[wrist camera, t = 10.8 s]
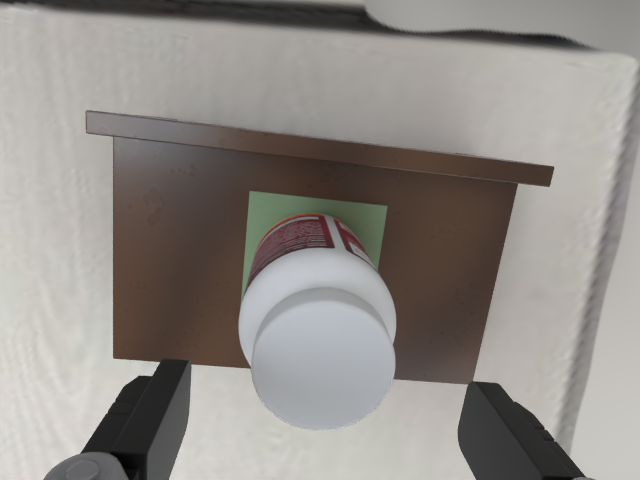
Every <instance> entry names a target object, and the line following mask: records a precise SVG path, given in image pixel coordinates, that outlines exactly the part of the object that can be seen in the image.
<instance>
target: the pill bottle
mask: <svg viewBox="0 0 640 480" xmlns="http://www.w3.org/2000/svg"><path fill="white" fill-rule="evenodd" d="M395 333H396V312H395V307H394V303H393V300H392V297H391V294H390V292H389V290H388V288H387V286H386V284H385V282H384V281H383V279H382V277H381V276H380V274H379V273H378V271H377V269H376V268H375V266H374V264H373V263H372V261H371V259H370V258H369V256H368V254H367V253H366V251H365V249H364V248H363V246H362V244H361V243H360V241H359V239H358V238H357V236H356V235H355V234H354V233H353V231H352V230H351V229H350V228H349V227H348V226H347V225H345V224H344V223H343V222H341V221H339V220H338V219H336V218H334V217H332V216H329V215H326V214H322V213H315V212H307V213H299V214H294V215H291V216H288V217H286V218H284V219H282V220H280V221H279V222H277V223H276V224H274V225H273V226H272V227H271V228H270V229H269V230H268V231H267V232H266V233H265V235H264V236H263V237H262V239H261V241H260V243H259V245H258V247H257V249H256V252H255V255H254V259H253V263H252V266H251V270H250V274H249V278H248V281H247V284H246V289H245V293H244V296H243V300H242V304H241V309H240V315H239V339H240V343H241V347H242V350H243V353H244V355H245V357H246V359H247V361H248V363H249V365H250V366H251V373H252V380H253V384H254V387H255V390H256V392H257V394H258V396H259V398H260V399H261V401H262V403H263V404H264V405H265V406H266V407H267V408H268V410H269V411H271V412H272V413H273V414H274V415H275V416H276V417H278V418H279V419H281V420H283V421H284V422H286V423H288V424H291V425H293V426H296V427H299V428H303V429H308V430H321V431H322V430H333V429H339V428H343V427H345V426H348V425H351V424H353V423H356V422H358V421H359V420H361V419H363V418H364V417H366V416H367V415H369V414H370V413H371V412H372V411H373V410H375V409H376V408H377V407H378V405H379V404H380V403H381V402H382V401H383V399H384V398H385V396H386V395H387V393H388V391H389V389H390V387H391V384H392V382H393V378H394V374H395V352H394V347H393V342H394V338H395Z"/></svg>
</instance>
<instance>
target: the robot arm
mask: <svg viewBox="0 0 640 480" xmlns="http://www.w3.org/2000/svg"><path fill="white" fill-rule="evenodd" d="M190 386H191V361H190V360H179V359H165V358H163V359H162V360H161V362H160V364H159V365H158V367H157V369H156V371H155V373H154V374H153V376H138V377H137V378H135V379H134V380H133V381H131V382H130V383H128V384H127V385H125V386H124V387H123V389H122V390H121V392H120V394H119V395H118V397H117V398H116V400H115V402H114V403H113V404H112V406H111V407H110V409H109V410H108V414H106V415H105V417H104V418H103V420H102V421H101V423H100V424H99V426H98V427H97V429H96V430H95V432H94V433H93V435H92V437H91V438H90V440H89V441H88V443H87V444H86V446H85V447H84V449H83V450H82V452H81V453H80V454H78V455H75V456H73V457H70V458H68V459H66V460H64V461H62V462H61V463H59V464H58V465H56V466H55V467H54V468H53V469H52V470H51V471H50V472H49V473H48V474H47V475H46V477H45V478H44V480H169V477H170V474H171V471H172V469H173V466H174V463H175V460H176V457H177V454H178V452H179V449H180V446H181V443H182V440H183V437H184V435H185V431H186V427H187V423H188V417H189V406H190ZM458 442H459V446H460V449H461V451H462V453H463V455H464V457H465V459H466V461H467V463H468V465H469V467H470V469H471V471H472V472H473V474H474V476H475V478H476V480H594V479H591V478H586V477H585V476H584V474H583V473H582V472H581V471H580V469H579V468H578V467H577V466H576V465H575V463H574V462H573V461H572V460H571V459H570V457H569V456H568V455H567V454H566V453H565V451H564V450H563V449H562V448H561V447H560V446H559V444H558V443H557V442H554V438H553V437H552V436H551V435H550V434H549V432H548V431H547V430H545V429H544V426H543V425H542V424H541V423H540V422H539V420H538V419H537V418H536V417H535V416H534V415H533V414H532V413H531V412H530V411H528V410H527V409H525V408H524V407H523V406H521V405H520V404H519V403H517V402H513V400H512V399H511V398H510V397H509V395H508V394H507V393H506V392H505V390H504V389H503V388H502V387H501V386H500V385H499V384H498V383H488V382H474V381H472V382H470V383H469V385H468V387H467V391H466V395H465V399H464V404H463V408H462V412H461V417H460V421H459V425H458Z"/></svg>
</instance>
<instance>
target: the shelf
mask: <svg viewBox="0 0 640 480" xmlns="http://www.w3.org/2000/svg"><path fill="white" fill-rule="evenodd" d="M86 133H88V134H96V135H105V136H113V358H114V359H127V360H141V361H154V362H161V360H162V359H163V358H165V359H179V360H190V361H191V364H195V365H209V366H222V367H236V368H250V369H251V366H250V365H249V363H248V361H247V359H246V357H245V355H244V353H243V350H242V347H241V343H240V339H239V315H240V309H241V304H242V300H243V296H244V293H245V289H246V284H247V281H248V278H249V274H250V270H251V266H252V263H253V259H254V255H255V252H256V249H257V247H258V245H259V243H260V241H261V239H262V237H263V236H264V235H265V233H266V232H267V231H268V230H269V229H270V228H271V227H272V226H273V225H274V224H276V223H277V222H279V221H280V220H282V219H284V218H286V217H288V216H291V215H294V214H299V213H307V212H315V213H322V214H326V215H329V216H332V217H334V218H336V219H338V220H339V221H341V222H343V223H344V224H345V225H347V226H348V227H349V228H350V229H351V230H352V231H353V233H354V234H355V235H356V236H357V238H358V239H359V241H360V243H361V244H362V246H363V248H364V249H365V251H366V253H367V254H368V256H369V258H370V259H371V261H372V263H373V264H374V266H375V268H376V269H377V271H378V273H379V274H380V276H381V277H382V279H383V281H384V282H385V284H386V286H387V288H388V290H389V292H390V294H391V297H392V300H393V303H394V307H395V312H396V333H395V338H394V342H393V347H394V352H395V374H394V378H393V379H399V380H413V381H427V382H440V383H454V384H468V385H469V383H470V382H472V381H473V377H474V373H475V368H476V364H477V360H478V355H479V351H480V347H481V342H482V338H483V334H484V329H485V325H486V321H487V316H488V312H489V308H490V303H491V299H492V295H493V290H494V286H495V281H496V277H497V273H498V268H499V264H500V260H501V255H502V251H503V247H504V242H505V238H506V234H507V229H508V225H509V221H510V216H511V212H512V208H513V203H514V199H515V195H516V190H517V186H518V183H519V184H527V185H536V186H545V187H549V186H550V183H551V179H552V175H553V171H554V167H553V166H546V165H539V164H532V163H525V162H518V161H511V160H504V159H497V158H490V157H483V156H476V155H468V154H460V153H455V154H454V153H445V152H437V151H429V150H420V149H412V148H404V147H396V146H387V145H379V144H371V143H362V142H354V141H346V140H337V139H329V138H321V137H313V136H304V135H296V134H288V133H279V132H271V131H263V130H255V129H246V128H238V127H230V126H221V125H213V124H205V123H196V122H188V121H180V120H177V119H170V118H161V117H152V116H141V115H130V114H121V113H110V112H99V111H88V110H87V111H86Z"/></svg>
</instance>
